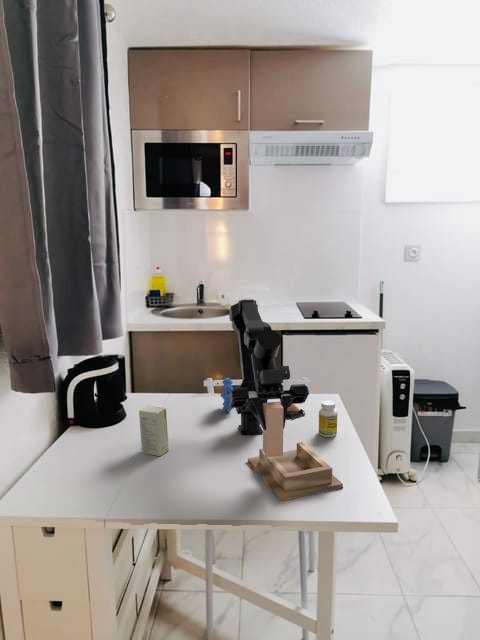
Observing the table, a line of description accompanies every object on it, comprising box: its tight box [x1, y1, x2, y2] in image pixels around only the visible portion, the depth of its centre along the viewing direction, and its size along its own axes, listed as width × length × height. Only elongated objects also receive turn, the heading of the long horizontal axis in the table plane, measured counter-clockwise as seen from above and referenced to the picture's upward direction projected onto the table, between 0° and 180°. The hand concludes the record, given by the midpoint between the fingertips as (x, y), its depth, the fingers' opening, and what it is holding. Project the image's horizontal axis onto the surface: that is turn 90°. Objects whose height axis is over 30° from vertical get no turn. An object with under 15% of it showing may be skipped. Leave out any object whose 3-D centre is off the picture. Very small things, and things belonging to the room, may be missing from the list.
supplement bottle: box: [318, 400, 338, 438], centre depth 145 cm, size 5×5×10 cm
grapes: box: [220, 377, 234, 413], centre depth 163 cm, size 12×7×12 cm, turn 4°
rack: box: [247, 441, 344, 502], centre depth 122 cm, size 20×16×4 cm
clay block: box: [262, 401, 284, 457], centre depth 117 cm, size 4×4×12 cm
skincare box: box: [138, 405, 170, 457], centre depth 134 cm, size 6×4×12 cm
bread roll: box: [286, 404, 306, 421], centre depth 162 cm, size 11×8×4 cm
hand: (274, 429), depth 116 cm, fingers closed on clay block, 4 cm apart
